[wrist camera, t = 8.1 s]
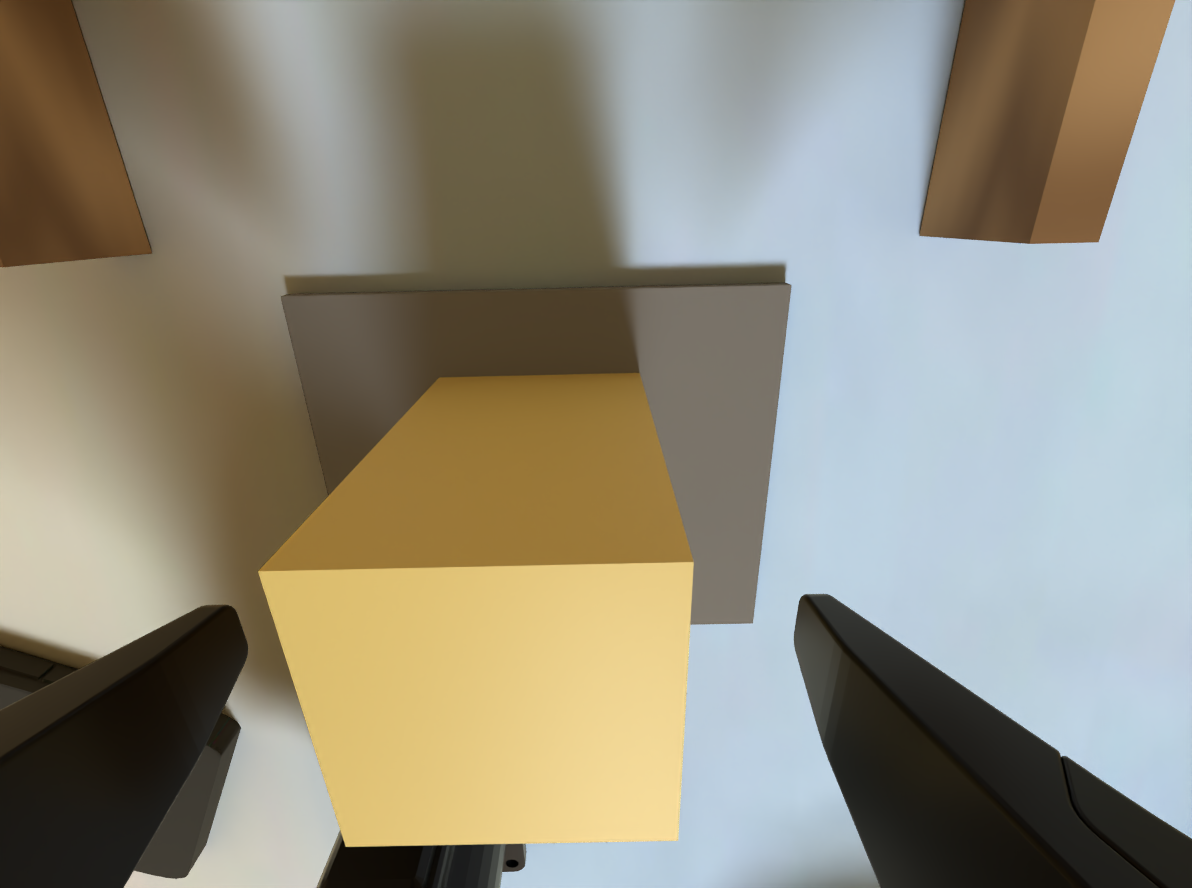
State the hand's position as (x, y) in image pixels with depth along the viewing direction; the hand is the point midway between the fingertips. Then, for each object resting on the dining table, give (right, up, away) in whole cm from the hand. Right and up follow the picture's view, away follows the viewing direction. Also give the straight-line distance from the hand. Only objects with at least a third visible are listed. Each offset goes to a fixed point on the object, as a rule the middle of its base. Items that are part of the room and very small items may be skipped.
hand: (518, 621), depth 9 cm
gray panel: (0, +2, +6) cm, 7 cm away
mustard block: (0, +2, +6) cm, 6 cm away
